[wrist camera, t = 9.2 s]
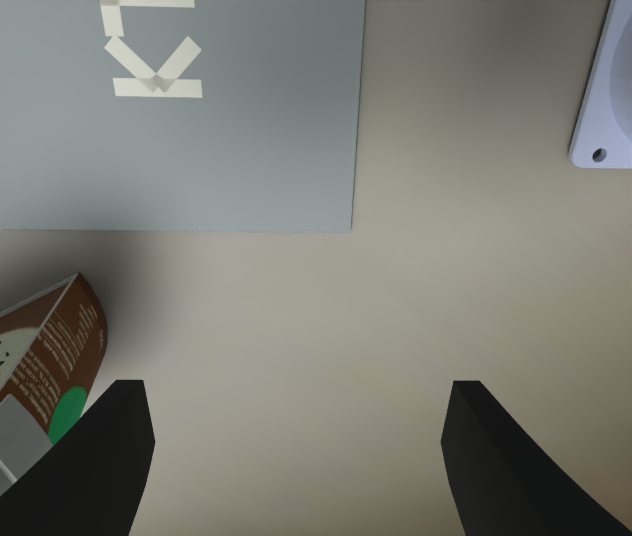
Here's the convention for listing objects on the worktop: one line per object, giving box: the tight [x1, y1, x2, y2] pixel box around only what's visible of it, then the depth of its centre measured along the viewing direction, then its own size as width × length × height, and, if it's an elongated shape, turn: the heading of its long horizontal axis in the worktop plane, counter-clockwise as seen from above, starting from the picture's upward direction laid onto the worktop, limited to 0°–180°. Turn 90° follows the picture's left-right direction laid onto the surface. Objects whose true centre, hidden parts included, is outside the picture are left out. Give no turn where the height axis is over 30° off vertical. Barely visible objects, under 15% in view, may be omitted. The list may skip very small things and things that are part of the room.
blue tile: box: [0, 0, 365, 233], centre depth 17 cm, size 14×14×1 cm
